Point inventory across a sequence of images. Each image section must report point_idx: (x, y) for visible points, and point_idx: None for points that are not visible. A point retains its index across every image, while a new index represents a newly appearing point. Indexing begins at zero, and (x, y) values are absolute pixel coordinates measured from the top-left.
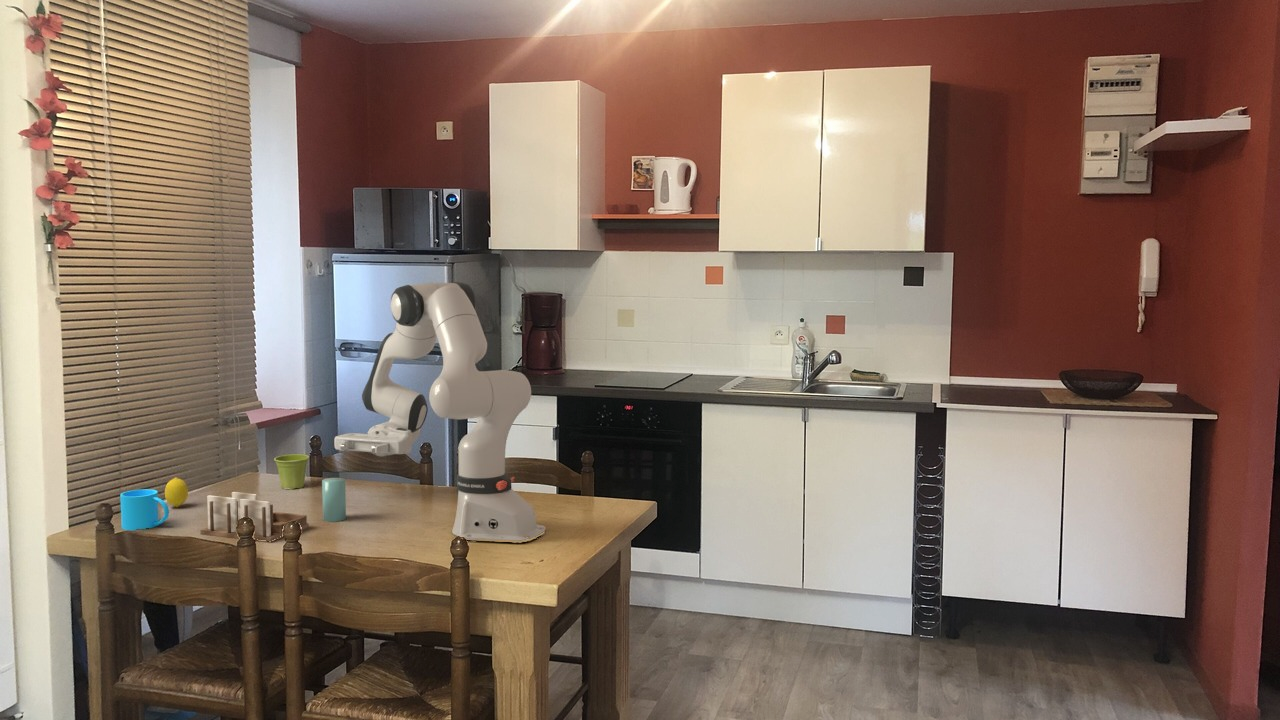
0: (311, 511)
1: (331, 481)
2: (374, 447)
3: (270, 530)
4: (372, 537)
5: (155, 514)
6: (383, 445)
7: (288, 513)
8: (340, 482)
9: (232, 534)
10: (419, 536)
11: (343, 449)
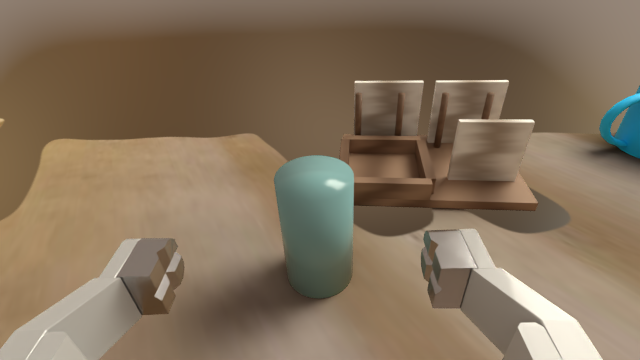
0: (449, 322)
1: (310, 164)
2: (148, 239)
3: (354, 133)
4: (172, 190)
5: (633, 128)
6: (60, 305)
7: (392, 181)
8: (279, 170)
9: (422, 136)
10: (68, 213)
11: (426, 252)
